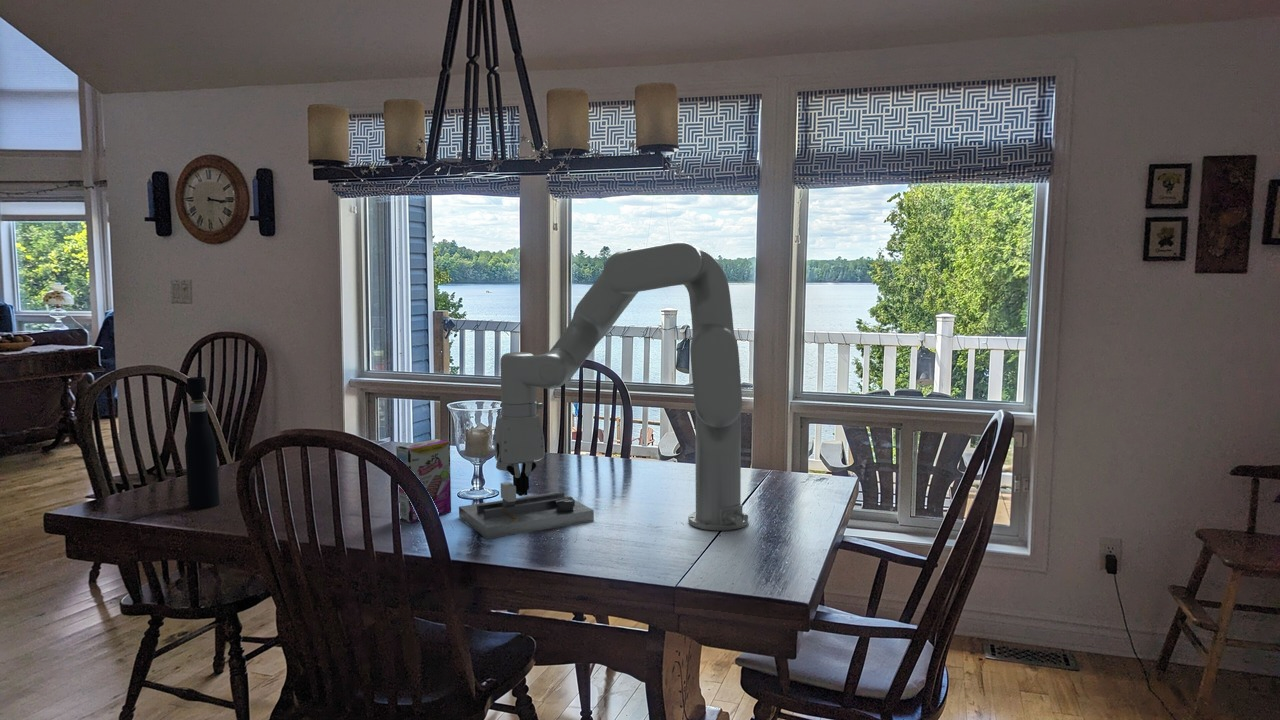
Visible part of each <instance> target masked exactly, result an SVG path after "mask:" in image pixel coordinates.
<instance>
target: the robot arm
mask: <svg viewBox="0 0 1280 720" xmlns="http://www.w3.org/2000/svg"><path fill="white" fill-rule="evenodd" d="M683 285H684V287H685V289H686V290H687V292H688V296H689V309H690V314H691V327H692V329H691V331H692V332H691V333H692V339H691V343H690V363H691V364H690V365H691V376H692V390H693V391H692V392H693V403H694V404H693V405H694V409H695V410H694V411H695V458H694V459H695V511H694V512H692V513H689V515H688V524H689V525H691V526H693V527H695V528H697V529H700V530H704V531H705V530H707V531H720V532H721V531H722V532H723V531H732V530H738V529H741V528H744V527H746V526H747V525H748V523H749V515H748V514H747V513H743V508H744V507H743V504H741V501H742V500H741V499H742V498H741V497H742V496H741V494H742V493H741V491H742V489H741V488H742V487H741V479H742V478H741V477H742V476H741V475H742V474H741V471H742V470H741V469H742V468H741V467H742V466H741V464H742V463H741V461H742V460H741V455H742V454H741V453H742V447H741V446H742V417H741V416H742V409H743V408H742V407H743V396H742V382H741V381H742V380H741V378H742V377H741V366H740V365H741V364H740V354H739V353H740V352H739V345H738V341H737V337H736V335H735V329H734V320H733V319H734V318H733V309H732V308H733V307H732V301H731V300H732V298H731V292H730V285H729V281H728V278H727V275H726V273H725V272H724V269H723V268H722V266H721V265H720V263H719V262H718V261H717V260H716V258H714V257H713V256H712V255H711V254H709V253H708V252H707V251H705V250H703V249H701V248H699V247H697V246H695V245H693V244H692V243H689V242H686V241H675V242H674V241H673V242H669V243H664V244H659V245H653V246H652V245H651V246H648V247H647V246H646V247H642V248H636V249H635V248H634V249H629V250H621V251H617V252H615V253H613V254H611V255H610V256H609V257H608V258H607V260H606V261H605V263H604V266H603V270H602V272H601V273H600V274H599V276H598V277H597V278H596V280H595V281H594V282H593V284H592V285H591V286H590V288H589V289H588V291H587V292H586V293H585V294H584V296H582V298H581V299H580V301H579V302H578V304H577V305H576V306H575V309H574V312H573V315H572V319H571V321H570V322H569V324H568V326H567V327H566V329H565V331H564V332H563V333H562V335H561V336H560V337H559V338H558V340H557V341H556V342H555V344H554V345H553V346H552V348H551V349H550V350H549V351H548V352H546V353H542V354H536V355H535V354H533V353H532V352H531V353H530V352H527V351H525V352H524V351H516V352H506V353H504V354H503V355H502V356H501V357H500V363H499V364H500V393H501V394H500V397H501V402H500V403H501V416H497V421H496V425H495V435H494V459H495V461H496V465H495V468H496V470H499V471H505V472H508V473H509V474H510V475H511V476H512V480H513V481H512V484H513V485H515V486H516V495H518V496H519V497H523V496H528V490H530V477H531V474H532V472H533V471H534V470H535V469H536V468H537V467H540V466H542V465H543V466H544V464H545V463H546V462H545V459H544V457H545V451H546V450H545V448H546V447H545V438H544V437H545V436H544V431H543V424H542V419H541V416H540V414H539V410H542V409H543V407H544V404H543V403H542V402H539V401H538V400H537V399H538V398H537V395H538V394H537V391H538V390H537V388H541V389H553V390H554V389H558V388H559V387H560V388H561V387H562V386H563V385H565V384H566V383H567V382H568V381H570V380H571V379H572V377H573V376H574V375H575V374H576V373H577V371H578V370H579V369H580V367H581V366H582V365H583V363H584V362H586V360H587V359H588V357H589V356H590V354H591V353H592V351H594V350H595V348H596V346H598V344H599V342H600V341H602V339H604V337H605V336H606V335H607V334H608V333H609V331H610V329H611V328H612V327H613V326H614V324H615V323H616V322H617V320H618V319H619V318H620V316H621V315H622V314H623V312H624V311H625V310H626V309H627V307H628V306H629V304H630V303H631V302H632V301H633V299H634V298H635V297H636V296H637V294H638V293H639V292H646V291H652V290H656V289H664V288H669V287H674V286H683ZM520 464H521V468H520Z"/></svg>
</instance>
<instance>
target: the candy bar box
mask: <svg viewBox="0 0 1280 720" xmlns="http://www.w3.org/2000/svg"><path fill="white" fill-rule="evenodd" d="M395 449H396V458H397V457H398V458H399V459H401V460H402V461H403V462H404V463H405V464H406V465H407V466H408V467H409V468H410V469H411V470H412V471H413V472H414V473H415V475H416V476H417V477H418V478H419V479H420V481H421V482H422V483H423V485H424V486H425V488H426V489H427V491H428V492H429V494H430V496H431V497H432V499H433V501H434V503H435V505H436V507H437V509H438V512H439V515H438V516H441V515H445V514H448V513H451V512H452V490H451V489H452V487H451V485H452V484H451V441H449V440H445V439H439V438H436V439H435V438H434V439H429V440H424V441H418V442H412V443H411V442H410V443H407V444H400V445H396V448H395ZM399 503H400V516H401V520H400V521H403V522H407V523H410V524H411V523H414V522H418V521H420V520H418V517H417V515H416V513H415V511H414V509H413V507H412V505H411V503H410V501H409V499H408V498H407V496H406V494H405V493H404V491H403V490H402V489H401V488H400V487H399Z"/></svg>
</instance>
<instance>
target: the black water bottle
mask: <svg viewBox="0 0 1280 720" xmlns="http://www.w3.org/2000/svg"><path fill="white" fill-rule="evenodd" d="M186 389H187V393H188V394H190V398H191V399H190V402H192V403H190V405H189V407H190V408H189V410H190V411H189V412H188V413H189V415H188V418H189V424H188V428H187V431H186V436H185V443H184V453H185V468H186V469H185V471H186V482H187V483H186V484H187V497H188V507H189V509H192V510H204V509H203V508H205V509H211V508H215V507H218V506H219V505H220V490H219V488H220V487H219V474H218V473H219V471H218V457H217V456H218V454H217V443H216V442H217V441H216V439H215V436H214V432H213V429H212V428H211V425H210V423H209V418H208V417H209V415H208V410H207V407H206V406H207V404H206V402H204V400H205V399H204V398H205V397H204V393H205V392H207V380H206V377H205V376H194V377H187V378H186ZM214 506H215V507H214ZM210 507H211V508H210Z"/></svg>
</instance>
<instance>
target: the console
mask: <svg viewBox="0 0 1280 720" xmlns="http://www.w3.org/2000/svg"><path fill="white" fill-rule="evenodd" d="M594 512H595V511H594V509H592V508H591V507H589V506H587V505H585V504H583V503H581V502H579V501H577V500H575V498H573V497H572V496H570V495H569V496H568V495H566V494H565V492H563V491H561V492H560V491H555V492H549V493H543V494H534V495H526V496H520V497H516V501H515V505H511V506H505V507H503V500H495V501H488V502H482V503H476V504H469V505H462V506H458V514H459V515H458V517H459V518H460V519H461V520H462V521H463V522H465V524H467V525H468V526H470V527H471V528H472V529H473V530H474V531H476V533H477V532H478V533H479V534H480V535H481V536H482V537H484V539H486V540H491V539H497V538H502V537H507V536H509V537H510V536H515V535H520V534H527V533H532V532H538V531H543V530H549V529H550V530H551V529H554V528H561V527H566V526H573V525H578V524H585V523H591V522H594V521H595V513H594Z"/></svg>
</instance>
